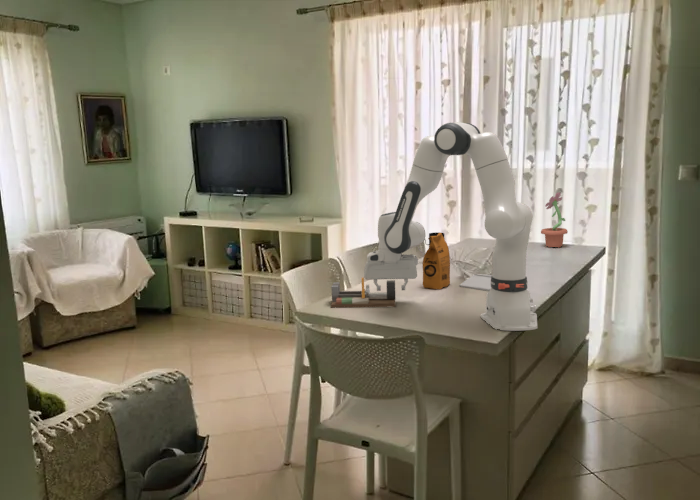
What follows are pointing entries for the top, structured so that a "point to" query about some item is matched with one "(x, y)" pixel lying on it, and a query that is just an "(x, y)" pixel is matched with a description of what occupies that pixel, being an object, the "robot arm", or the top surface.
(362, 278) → the orange angled bar
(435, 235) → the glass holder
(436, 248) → the coffee package
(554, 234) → the decorative flower
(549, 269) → the top surface
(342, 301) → the gauge base
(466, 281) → the gadget
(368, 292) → the grey notched block
